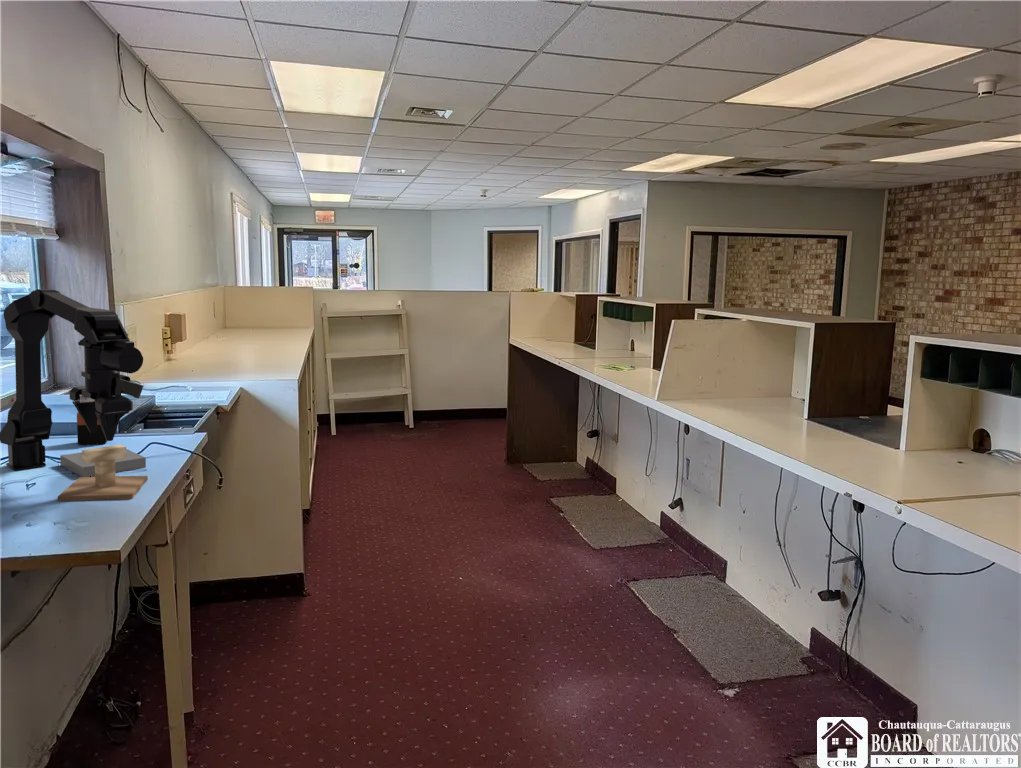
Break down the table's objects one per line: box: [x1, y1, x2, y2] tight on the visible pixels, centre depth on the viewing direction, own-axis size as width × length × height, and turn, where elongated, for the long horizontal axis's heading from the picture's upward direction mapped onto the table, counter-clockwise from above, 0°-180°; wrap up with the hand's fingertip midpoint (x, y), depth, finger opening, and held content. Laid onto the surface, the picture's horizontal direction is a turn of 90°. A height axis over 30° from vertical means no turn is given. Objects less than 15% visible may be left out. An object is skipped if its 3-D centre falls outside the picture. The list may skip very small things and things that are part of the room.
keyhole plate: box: [59, 448, 147, 477], centre depth 166 cm, size 14×14×2 cm
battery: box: [76, 411, 108, 446], centre depth 186 cm, size 4×7×10 cm, turn 115°
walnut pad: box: [57, 475, 149, 502], centre depth 149 cm, size 14×14×1 cm
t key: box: [81, 444, 127, 488], centre depth 149 cm, size 8×3×8 cm, turn 142°
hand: (101, 436), depth 150 cm, fingers open, 9 cm apart
